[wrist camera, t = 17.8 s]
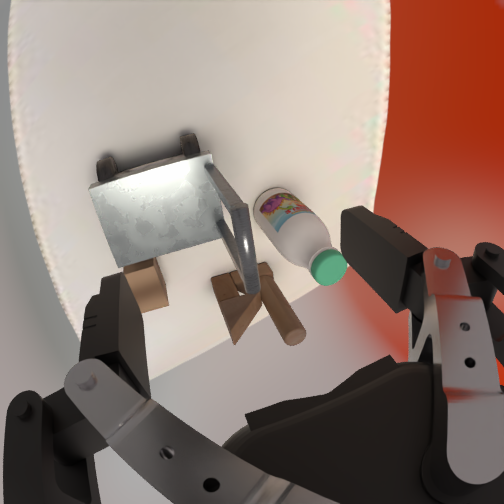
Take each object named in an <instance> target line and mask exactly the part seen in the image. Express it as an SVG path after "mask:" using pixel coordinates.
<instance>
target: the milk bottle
mask: <svg viewBox="0 0 504 504" xmlns="http://www.w3.org/2000/svg"><path fill="white" fill-rule="evenodd" d="M254 218H255V220H256V222H257V224H258V225H259V226H260V228H261V229H262V230H263V232H264V233H265V234H266V236H267V237H268V238H269V240H270V241H271V242H272V244H273V245H274V246H275V247H276V249H277V250H278V251H279V252H280V253H281V255H282V256H283V257H284V258H285V259H287V260H288V261H289V262H291V263H293V264H295V265H297V266H301V267H304V268H307V269H309V272H310V274H311V275H312V276H313V278H314V279H315V280H316V281H317V282H318V283H319V284H321V285H324V286H328V285H332V284H334V283H336V282H337V281H338V280H340V279H341V278H342V277H343V275H344V274H345V272H346V269H347V262H346V261H345V259H344V257H343V255H342V254H341V253H340V252H339V251H338V250H337V249H336V248H334V247H332V244H331V240H330V235H329V232H328V229H327V228H326V226H325V224H324V223H323V222H322V220H321V219H320V218H319V217H318V216H317V215H316V214H315V213H314V212H312V211H311V210H310V209H309V208H308V207H307V206H306V205H305V204H303V203H302V202H301V201H300V200H299V199H297V198H296V197H295V196H294V195H293V194H291V193H290V192H289V191H287V190H285V189H282V188H274V189H270V190H268V191H266V192H264V193H263V194H262V195H261V196H260V197H259V198H258V199H257V201H256V203H255V206H254Z"/></svg>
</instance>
